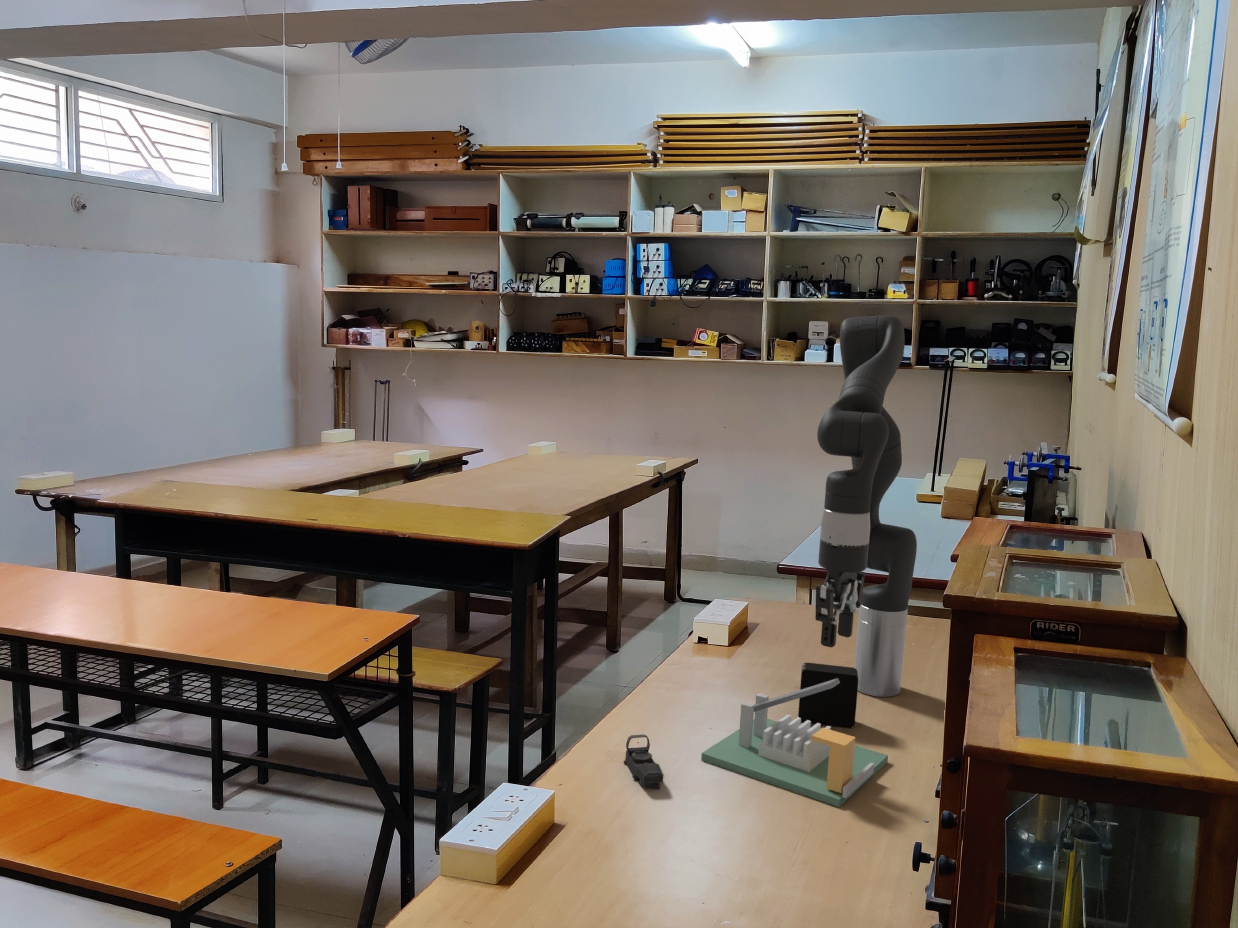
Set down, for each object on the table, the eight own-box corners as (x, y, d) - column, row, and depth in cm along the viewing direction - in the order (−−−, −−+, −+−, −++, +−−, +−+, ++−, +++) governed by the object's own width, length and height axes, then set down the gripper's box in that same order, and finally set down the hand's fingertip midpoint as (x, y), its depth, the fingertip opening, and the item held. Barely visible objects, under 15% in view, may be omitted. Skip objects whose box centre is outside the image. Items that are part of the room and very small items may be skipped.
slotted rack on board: (758, 722, 177) (761, 677, 176) (890, 762, 163) (895, 714, 162) (701, 759, 161) (704, 711, 160) (842, 808, 147) (847, 755, 146)
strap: (758, 708, 168) (756, 702, 168) (841, 682, 158) (838, 676, 158) (748, 714, 165) (745, 708, 165) (831, 688, 155) (829, 682, 156)
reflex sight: (639, 793, 149) (641, 762, 149) (623, 763, 159) (624, 734, 158) (664, 791, 150) (666, 760, 150) (646, 761, 160) (648, 732, 159)
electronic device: (854, 729, 177) (858, 675, 175) (797, 722, 178) (801, 669, 177) (853, 719, 181) (858, 667, 179) (798, 713, 183) (802, 661, 181)
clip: (819, 773, 155) (822, 727, 154) (851, 783, 152) (855, 736, 151) (808, 782, 152) (811, 735, 151) (841, 793, 149) (845, 745, 148)
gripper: (840, 527, 163) (832, 625, 165) (802, 541, 151) (795, 646, 154) (884, 535, 158) (875, 635, 161) (849, 549, 147) (840, 657, 149)
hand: (836, 640), depth 157 cm, fingers open, 6 cm apart
